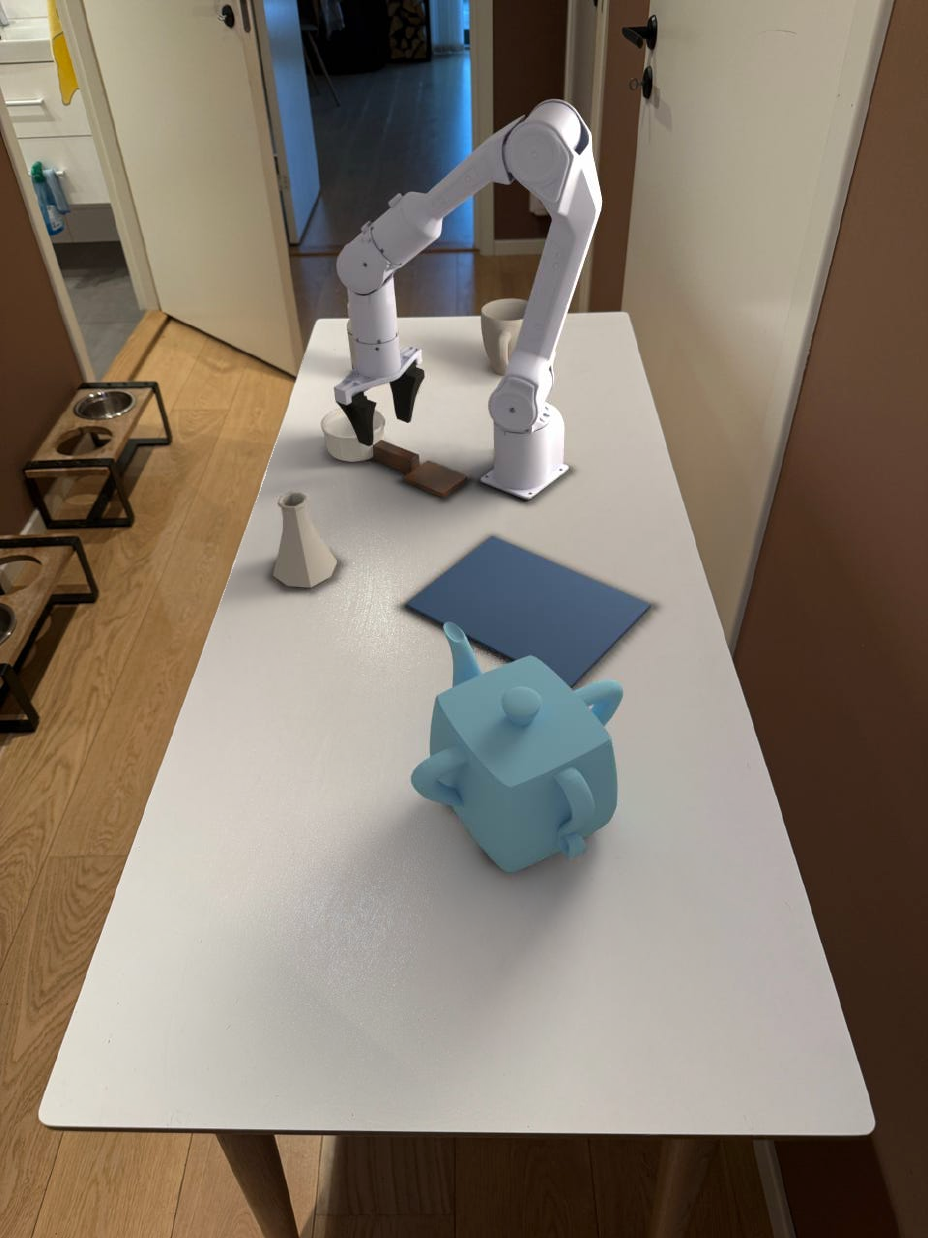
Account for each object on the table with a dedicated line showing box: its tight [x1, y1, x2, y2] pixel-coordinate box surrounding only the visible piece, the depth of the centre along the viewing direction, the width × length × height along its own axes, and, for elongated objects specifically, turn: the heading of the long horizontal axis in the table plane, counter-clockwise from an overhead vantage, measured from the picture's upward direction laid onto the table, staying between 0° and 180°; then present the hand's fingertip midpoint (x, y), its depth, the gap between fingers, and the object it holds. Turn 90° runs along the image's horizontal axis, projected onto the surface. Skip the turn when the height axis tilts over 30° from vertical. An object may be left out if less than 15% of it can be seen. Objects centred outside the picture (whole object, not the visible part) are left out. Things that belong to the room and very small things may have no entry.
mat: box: [405, 535, 652, 689], centre depth 103 cm, size 16×22×1 cm
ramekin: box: [320, 407, 386, 463], centre depth 128 cm, size 9×9×4 cm
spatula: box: [369, 440, 469, 498], centre depth 125 cm, size 17×5×2 cm, turn 51°
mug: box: [480, 298, 529, 376], centre depth 143 cm, size 12×9×10 cm
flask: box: [272, 491, 338, 589], centre depth 106 cm, size 7×7×10 cm
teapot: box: [410, 622, 624, 874], centre depth 78 cm, size 18×16×14 cm
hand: (385, 431), depth 124 cm, fingers open, 7 cm apart
